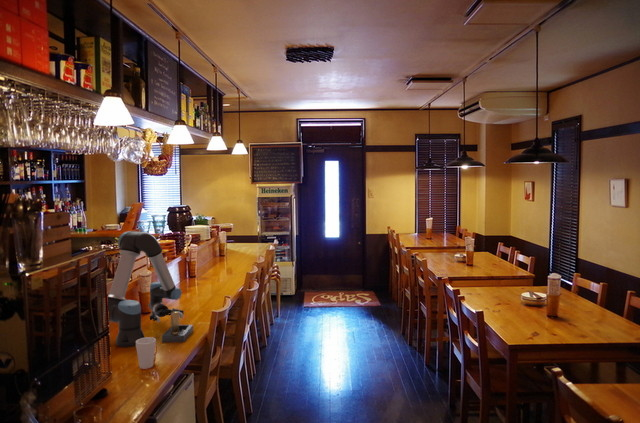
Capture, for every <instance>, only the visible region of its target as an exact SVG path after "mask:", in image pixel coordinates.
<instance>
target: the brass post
mask: <svg viewBox="0 0 640 423" xmlns="http://www.w3.org/2000/svg"><path fill="white" fill-rule="evenodd" d="M170 324H171V325H170V327H171V332H172V333H173V334H178V331H179V325H180V317H179V312H178V311H173V312H171V315H170Z"/></svg>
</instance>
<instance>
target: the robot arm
mask: <svg viewBox="0 0 640 423" xmlns="http://www.w3.org/2000/svg"><path fill="white" fill-rule="evenodd" d="M117 244H118V247H119V248H120V249H119V253H120V257H119V261H118V263H117V264H118V265H117V268H116V270H115V273H114V277H113V280H112V284H111V287H110V289H109V292H108V294H107V295H108V311H109V323H110V322H111V323H115V324H118V332H117V335H116V339H115V345H116V346H117V347H121V348H129V347H136V340H138V339H141V338H145V334H144V332H143V329H142V306H141V303H140V301H138V300H134V299H126V293H127V290H128V286H129V282H130V280H131V276H132V273H133V270H134V266H135V262H136V259H137V258H138V257H140V255H141V252H143V253H144V254H145V256H146V257H147V258H148V259H149V261H150V262H151V266H152V267H153V270H154V272H155V274H156V276H157V278H158V281H154V282H151V283H150V285H149V298H150V301H149V303H148V307H149V310H150V311H151V313H150V315H149V320H150V321H153V322H157V323H158V324H160V322H161V318H164V317H165V316H171V312H173V311H178V312H179V319H181V320H182V319H184V314H185V313H184V310H182V309H178V308H177V309H176V308H174V307H173V308H172V309H170V308H168V306H167V305H166V304H164V303H163V302H164V301H163V299H166V300H172V301H173V300H174V301H176V300H179V299H180V298H181V297H182V290H181V288H179V287H176V284H175V283H174V282H175V281H174V279H173V276H172V275H171V272H170V270H169V267H168V266H167V263H166V260H165V258H164V256H163V248H162V246H161V244H160V242H159V241H158V240H157V238H156V237H155V236H154V234H151V233H149V232H146V231H136V230H129V231H124V232H123V233H121V234H120V236H119V238H118V240H117Z"/></svg>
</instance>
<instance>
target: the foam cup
mask: <svg viewBox="0 0 640 423" xmlns="http://www.w3.org/2000/svg"><path fill="white" fill-rule="evenodd" d="M144 337H145V336H144ZM156 345H157V339H156V338H155V337H153V336H151V337H150V336H149V337H147V336H146V337H145V338H141V339H138V340H136V346H135V349H136V354H137V360H138V365H139V368H140V369H143V370H145V369H146V370H147V369H151V368H152V367H153V366H154V362H155V354H156V353H155V352H156Z"/></svg>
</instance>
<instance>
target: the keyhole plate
mask: <svg viewBox="0 0 640 423" xmlns="http://www.w3.org/2000/svg"><path fill="white" fill-rule="evenodd" d="M193 331H194V324H179V331H178V334H173V333H172V332H171V326H170V327H169V328H168V329H167V330H166V331H165V332H164V333H163V334H162V335H161V342H162V343H185V341H187V339H189V337H190V336H191V334H192V333H193Z"/></svg>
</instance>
